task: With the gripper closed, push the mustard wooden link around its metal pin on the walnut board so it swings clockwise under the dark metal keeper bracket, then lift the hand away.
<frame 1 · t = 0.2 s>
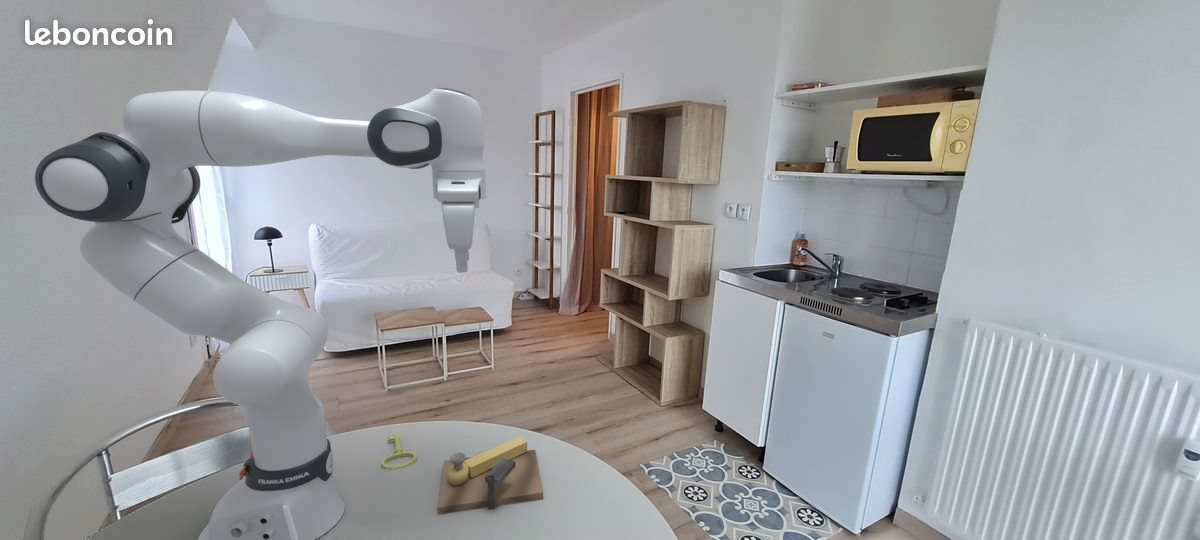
hand: (463, 266, 85), 47 cm above the table, tool pointing down, fingers open, 8 cm apart
key: (398, 456, 108), on the table
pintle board: (459, 486, 98), on the table
link: (488, 459, 102), point 3 cm above the table, hinge at 0.0°
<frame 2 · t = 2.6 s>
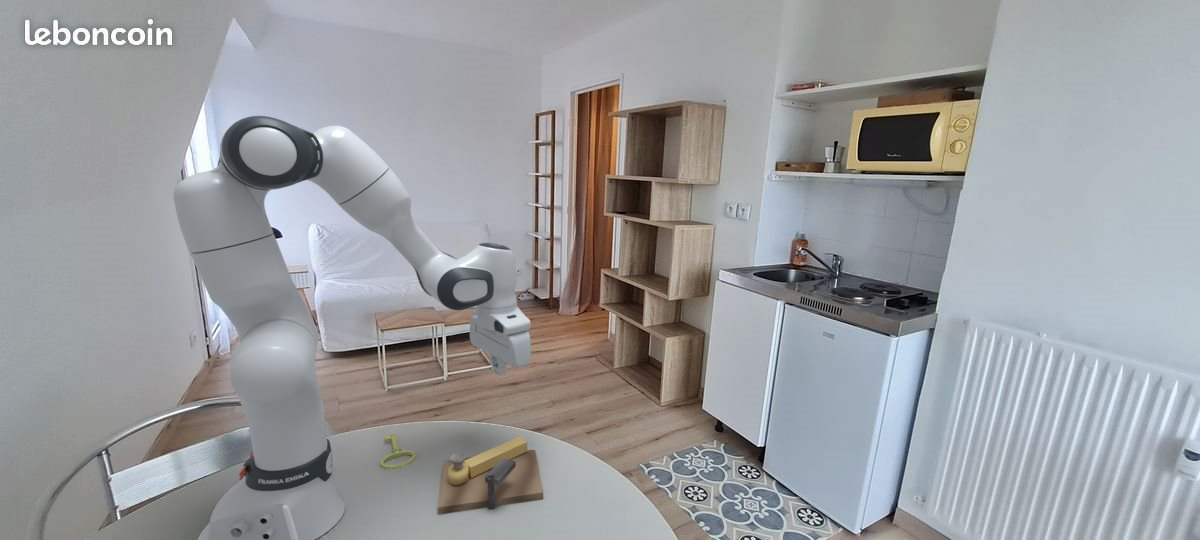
hand: (499, 373, 108), 19 cm above the table, tool pointing down, fingers closed
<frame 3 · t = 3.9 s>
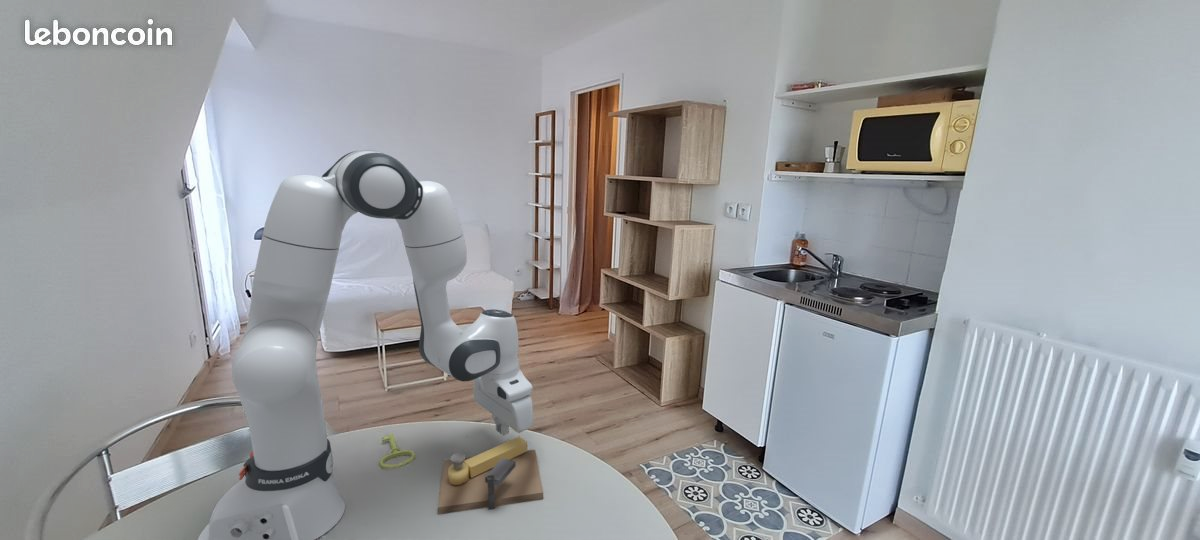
hand: (502, 432, 111), 4 cm above the table, tool pointing down, fingers closed
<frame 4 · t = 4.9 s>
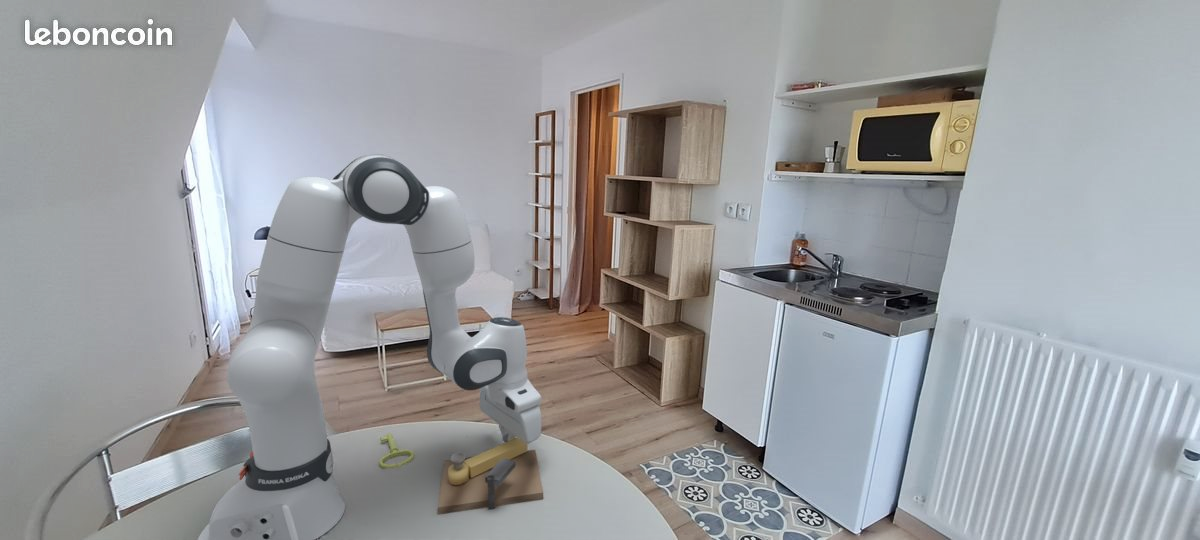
hand: (508, 442, 109), 3 cm above the table, tool pointing down, fingers closed
link: (488, 459, 102), point 3 cm above the table, hinge at 0.0°, touching gripper
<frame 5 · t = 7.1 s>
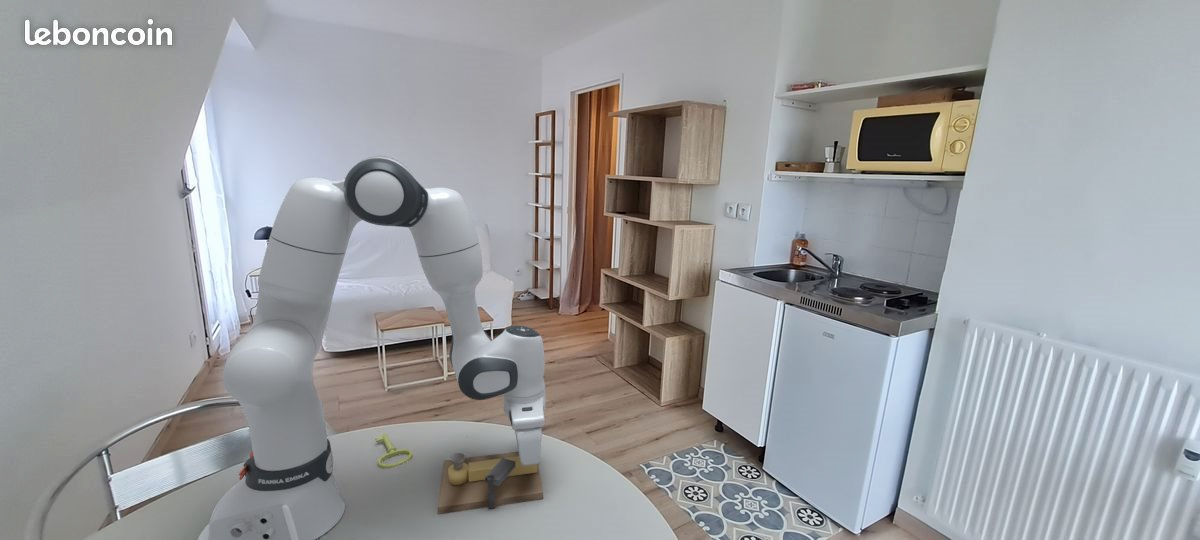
hand: (525, 458, 103), 3 cm above the table, tool pointing down, fingers closed
link: (493, 468, 99), point 3 cm above the table, hinge at 29.4°, touching gripper
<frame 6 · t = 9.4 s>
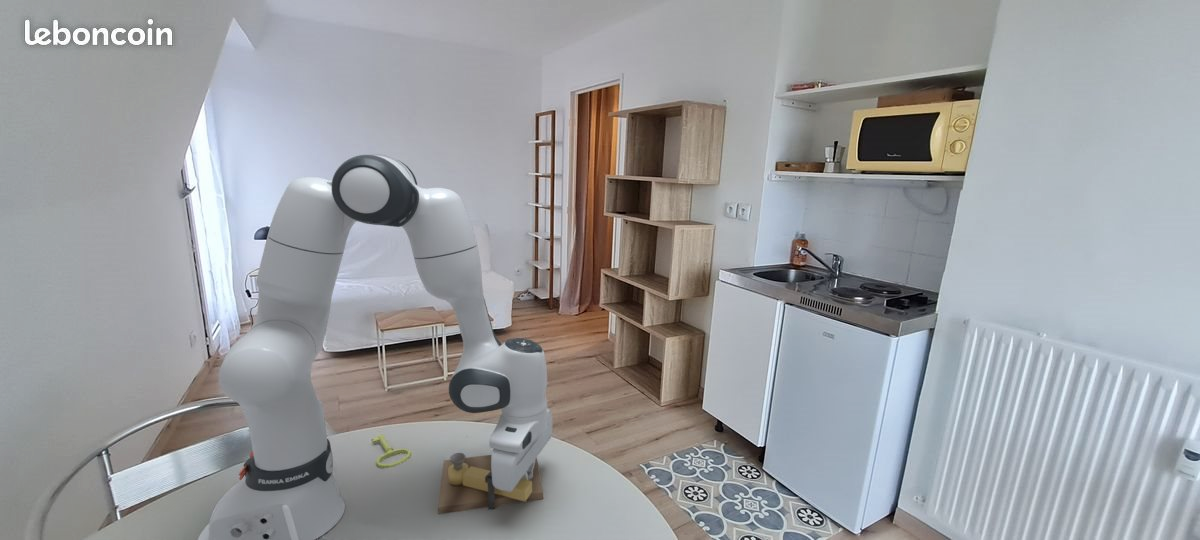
hand: (526, 481, 96), 3 cm above the table, tool pointing down, fingers closed
link: (488, 481, 95), point 3 cm above the table, hinge at 62.0°, touching gripper
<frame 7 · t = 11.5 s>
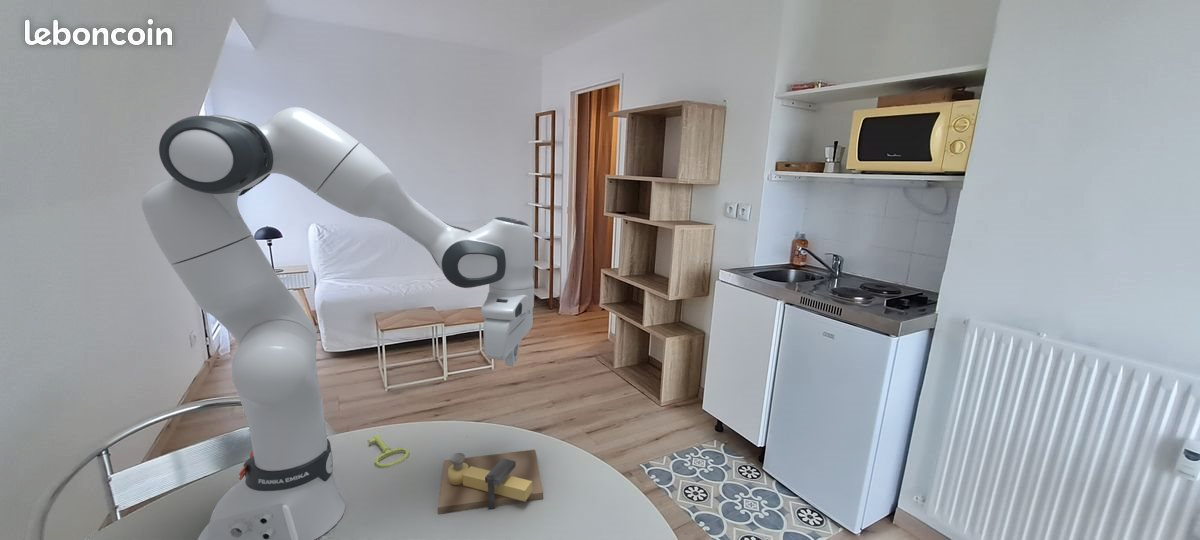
hand: (511, 363, 97), 25 cm above the table, tool pointing down, fingers closed
link: (488, 481, 95), point 3 cm above the table, hinge at 62.0°
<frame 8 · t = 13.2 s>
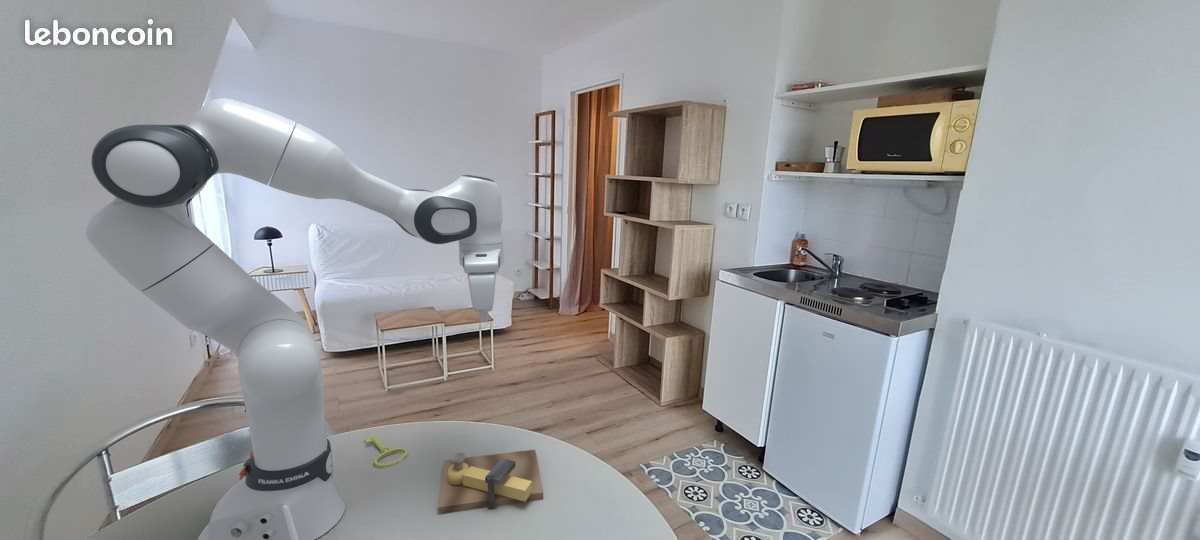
hand: (483, 319, 100), 33 cm above the table, tool pointing down, fingers closed
at the end: link at +62° (first picture: +0°) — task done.
